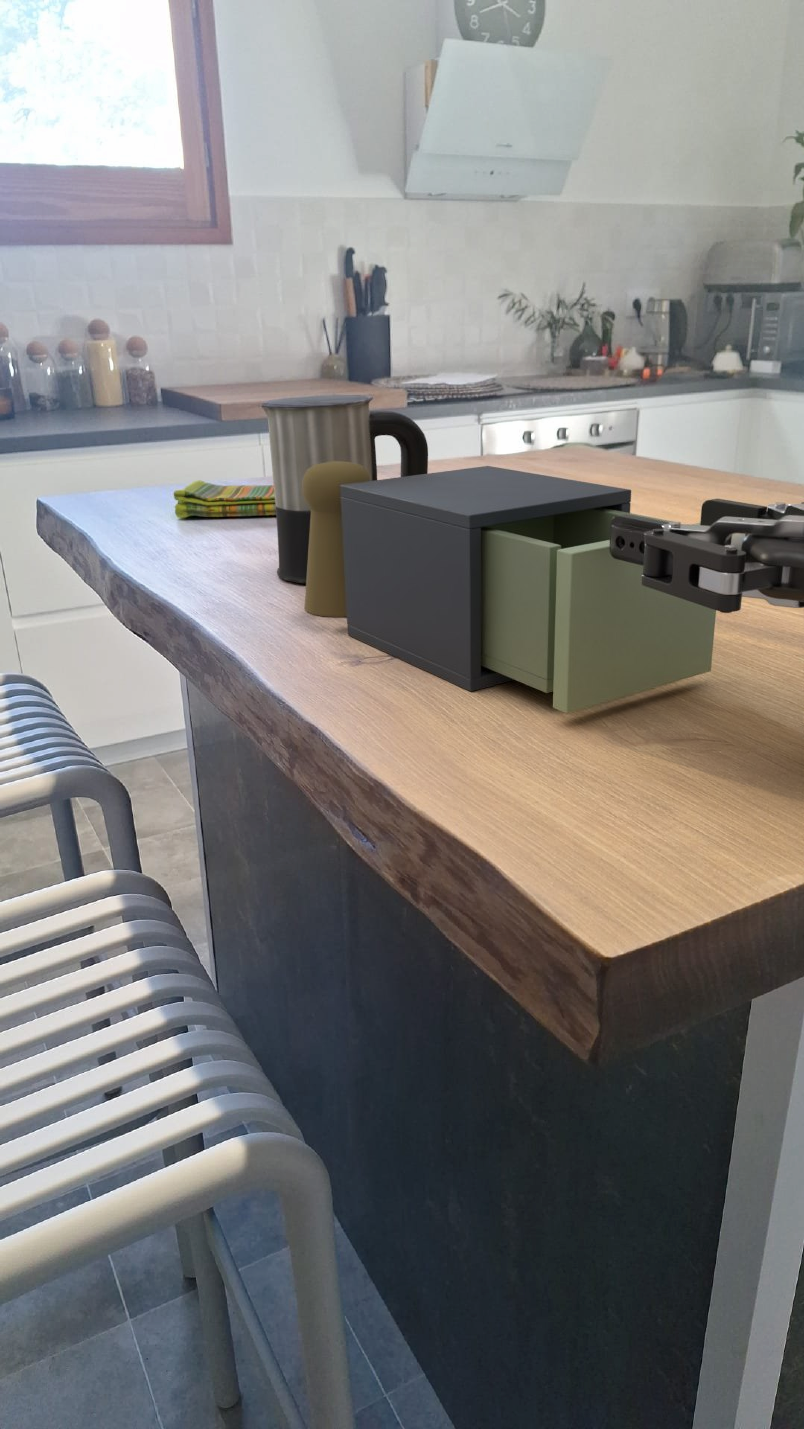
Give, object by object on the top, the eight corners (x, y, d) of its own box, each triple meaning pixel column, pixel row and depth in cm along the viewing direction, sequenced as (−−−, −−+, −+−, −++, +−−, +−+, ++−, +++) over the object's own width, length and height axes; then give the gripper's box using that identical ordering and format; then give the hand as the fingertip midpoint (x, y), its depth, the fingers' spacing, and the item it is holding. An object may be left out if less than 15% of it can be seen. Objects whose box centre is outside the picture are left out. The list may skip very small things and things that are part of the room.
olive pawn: (295, 616, 77) (285, 469, 73) (314, 595, 83) (305, 457, 79) (373, 617, 76) (367, 468, 72) (387, 596, 82) (382, 456, 78)
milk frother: (306, 592, 84) (294, 405, 78) (226, 559, 96) (211, 395, 91) (446, 566, 91) (444, 393, 86) (355, 538, 103) (349, 385, 98)
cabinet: (623, 651, 67) (631, 489, 63) (470, 692, 61) (469, 515, 57) (487, 605, 79) (488, 465, 75) (347, 635, 72) (339, 484, 69)
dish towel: (196, 497, 129) (193, 471, 128) (477, 488, 129) (477, 462, 128) (172, 520, 115) (169, 492, 114) (488, 510, 115) (488, 482, 114)
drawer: (781, 694, 57) (801, 525, 53) (634, 743, 51) (645, 558, 47) (559, 621, 71) (563, 484, 68) (425, 652, 65) (422, 505, 62)
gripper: (1085, 474, 43) (758, 441, 56) (879, 518, 36) (559, 468, 49) (1048, 645, 46) (745, 574, 59) (850, 717, 38) (555, 619, 52)
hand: (661, 526), depth 54 cm, fingers closed on drawer, 6 cm apart
